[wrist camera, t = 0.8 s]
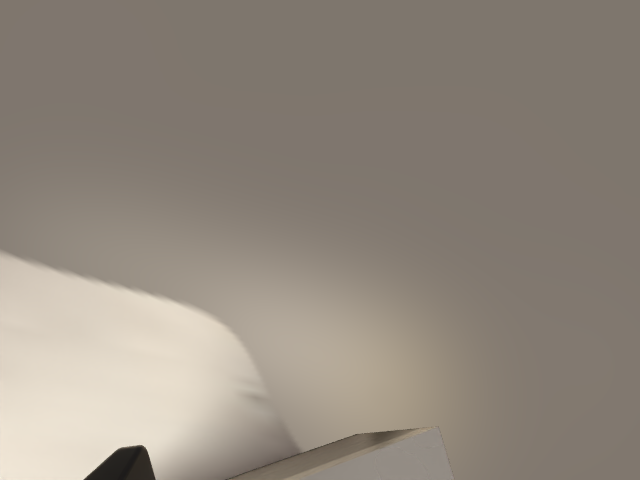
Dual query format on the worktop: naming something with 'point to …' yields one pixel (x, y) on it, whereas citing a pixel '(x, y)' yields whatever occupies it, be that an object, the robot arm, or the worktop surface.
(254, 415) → the worktop surface
